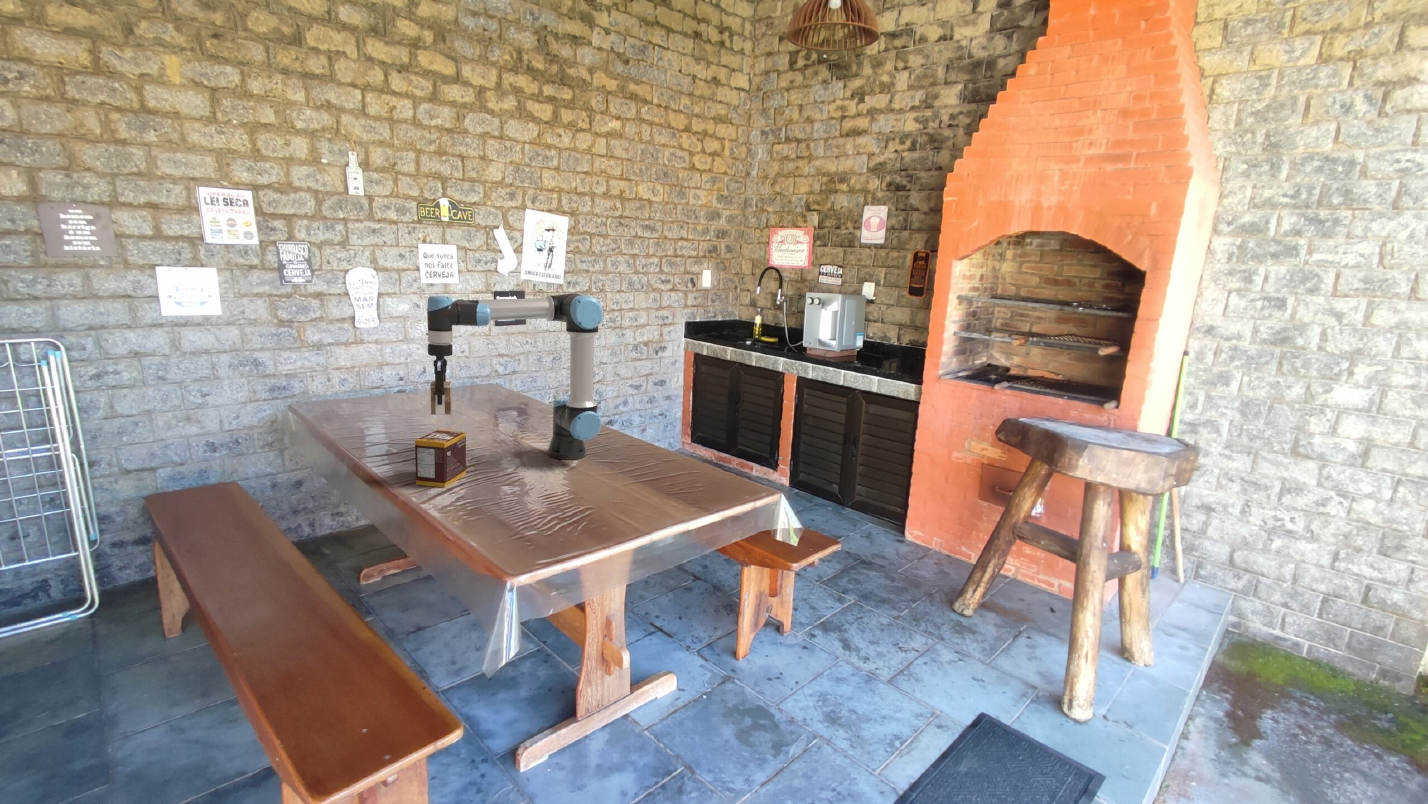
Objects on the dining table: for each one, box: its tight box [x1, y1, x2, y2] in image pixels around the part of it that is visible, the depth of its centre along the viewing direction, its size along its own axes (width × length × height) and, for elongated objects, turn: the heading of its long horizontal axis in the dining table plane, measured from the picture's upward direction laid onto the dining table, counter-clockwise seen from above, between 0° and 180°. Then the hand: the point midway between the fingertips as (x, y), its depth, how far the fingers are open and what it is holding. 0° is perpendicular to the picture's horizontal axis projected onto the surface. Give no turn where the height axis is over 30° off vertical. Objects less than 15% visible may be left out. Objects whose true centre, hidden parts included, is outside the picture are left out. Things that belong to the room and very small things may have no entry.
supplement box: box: [414, 429, 467, 489], centre depth 224 cm, size 10×15×16 cm
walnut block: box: [429, 381, 453, 416], centre depth 219 cm, size 6×6×10 cm
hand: (440, 411), depth 220 cm, fingers closed on walnut block, 6 cm apart
